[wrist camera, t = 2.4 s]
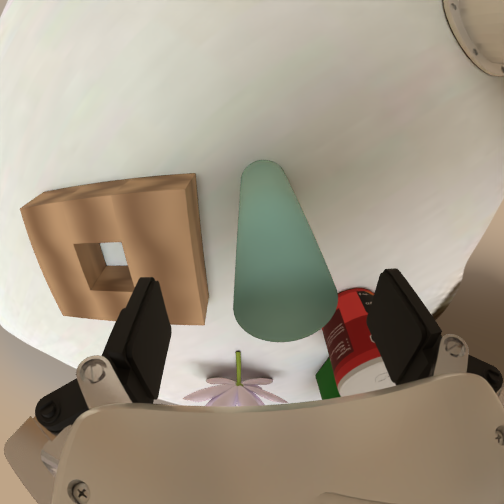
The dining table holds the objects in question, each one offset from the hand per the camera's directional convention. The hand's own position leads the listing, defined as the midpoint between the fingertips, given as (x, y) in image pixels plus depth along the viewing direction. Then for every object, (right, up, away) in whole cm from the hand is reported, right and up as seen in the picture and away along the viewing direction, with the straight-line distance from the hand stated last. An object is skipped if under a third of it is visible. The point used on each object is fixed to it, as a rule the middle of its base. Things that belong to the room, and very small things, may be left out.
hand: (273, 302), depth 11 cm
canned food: (+11, -5, +21) cm, 25 cm away
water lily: (-4, -16, +28) cm, 32 cm away
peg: (0, +8, +13) cm, 15 cm away
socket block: (-15, +3, +16) cm, 22 cm away
